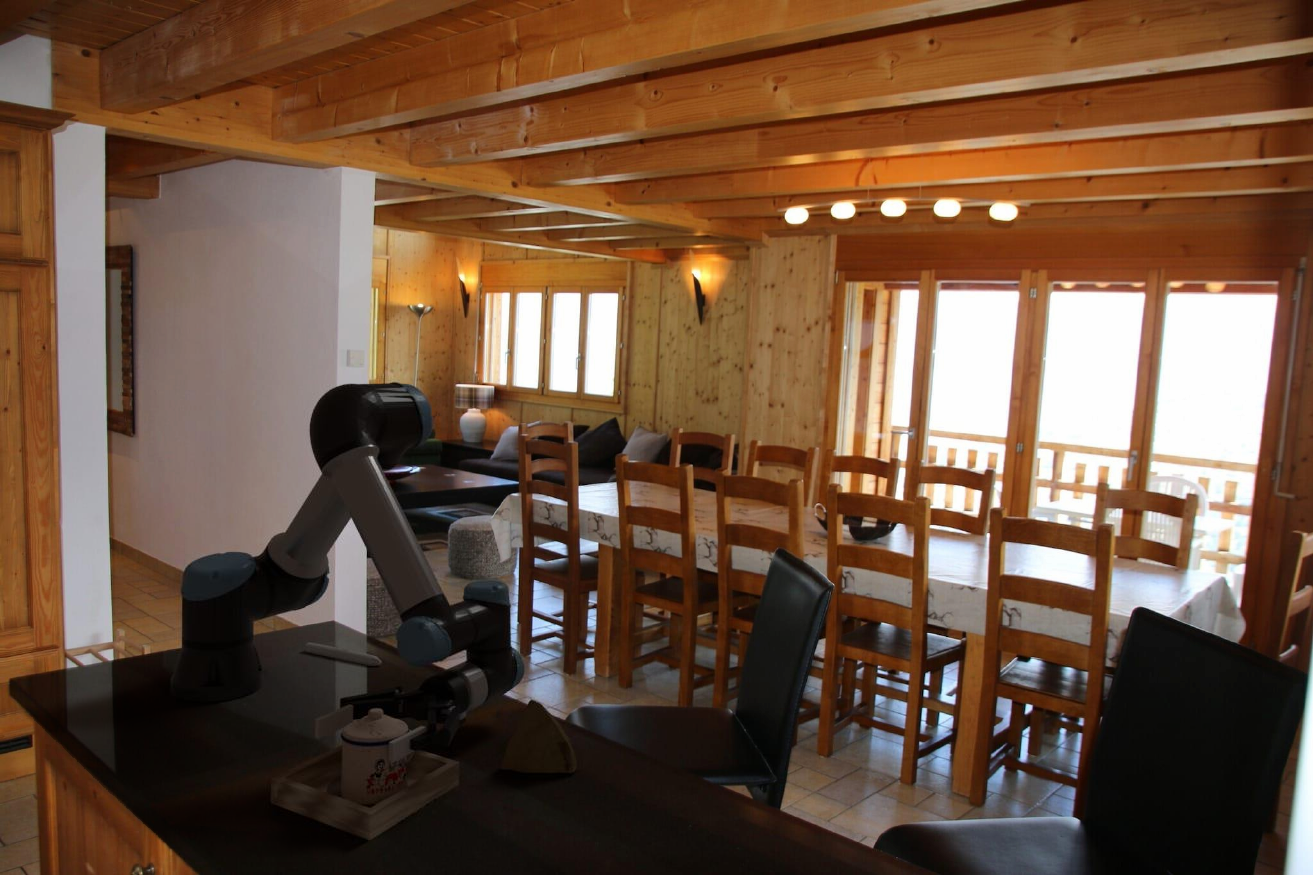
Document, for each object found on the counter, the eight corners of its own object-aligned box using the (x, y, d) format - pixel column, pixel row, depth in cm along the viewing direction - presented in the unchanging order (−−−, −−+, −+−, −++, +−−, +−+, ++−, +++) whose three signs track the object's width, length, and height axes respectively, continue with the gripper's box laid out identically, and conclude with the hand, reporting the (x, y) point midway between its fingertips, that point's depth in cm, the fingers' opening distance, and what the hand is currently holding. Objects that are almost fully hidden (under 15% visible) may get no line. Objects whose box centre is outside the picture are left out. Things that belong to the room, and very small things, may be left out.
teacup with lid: (370, 812, 124) (372, 725, 124) (325, 795, 129) (327, 711, 129) (436, 783, 135) (438, 702, 134) (392, 768, 139) (394, 690, 139)
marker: (385, 666, 184) (385, 654, 184) (378, 669, 182) (378, 657, 182) (311, 650, 190) (311, 639, 190) (304, 653, 188) (304, 642, 188)
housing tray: (270, 802, 129) (271, 778, 128) (365, 754, 145) (366, 733, 144) (369, 840, 121) (370, 814, 120) (458, 785, 137) (459, 762, 137)
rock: (595, 751, 146) (549, 724, 151) (580, 720, 140) (532, 693, 146) (551, 809, 140) (505, 778, 146) (533, 779, 135) (486, 749, 140)
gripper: (516, 734, 143) (422, 790, 124) (391, 698, 154) (287, 744, 135) (518, 686, 142) (424, 735, 123) (392, 654, 153) (288, 694, 134)
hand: (352, 740), depth 129 cm, fingers open, 13 cm apart
